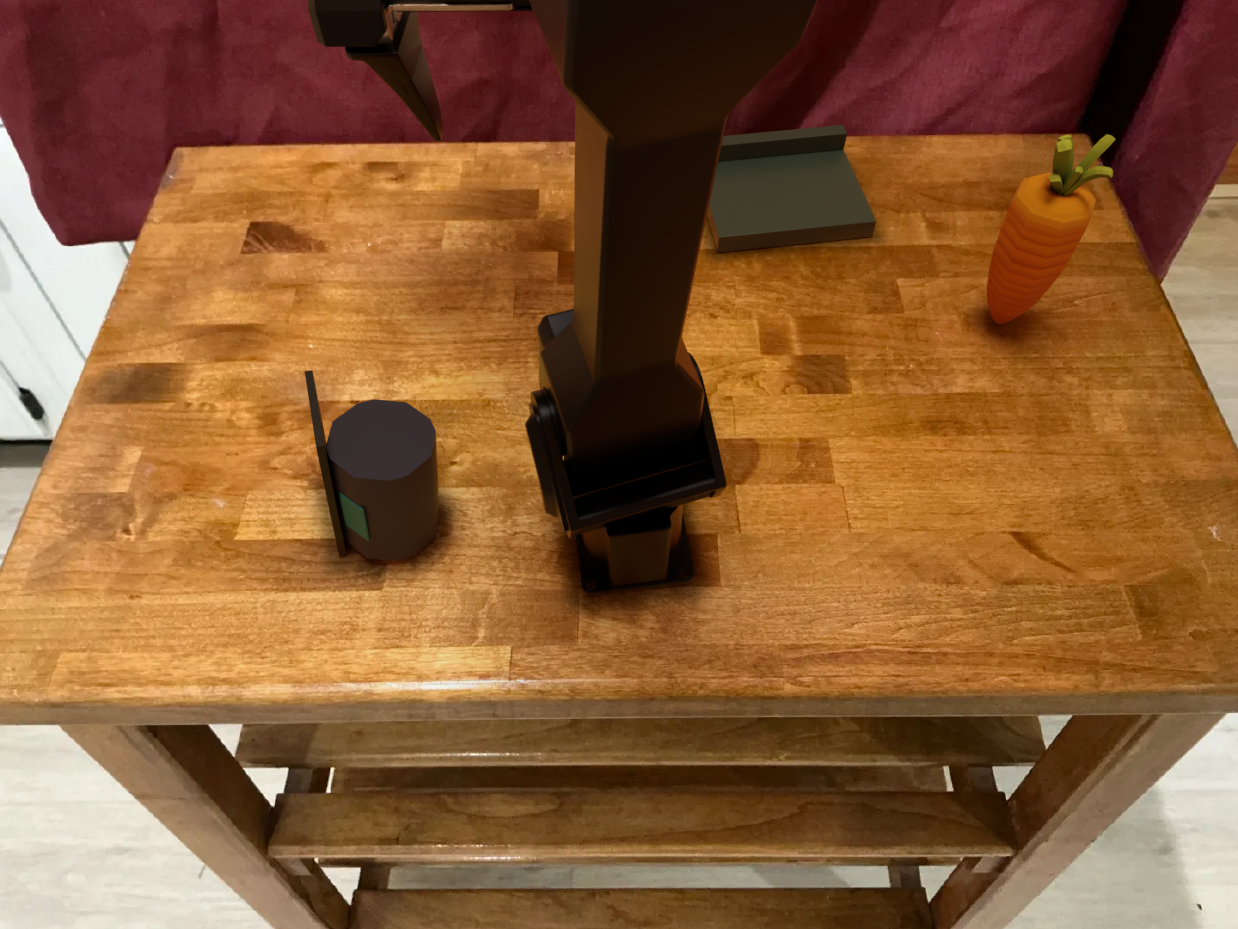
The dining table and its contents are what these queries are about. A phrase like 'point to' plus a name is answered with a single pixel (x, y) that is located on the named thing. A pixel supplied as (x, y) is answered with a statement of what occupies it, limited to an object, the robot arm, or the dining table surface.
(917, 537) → the dining table surface
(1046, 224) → the carrot
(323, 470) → the speaker
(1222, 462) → the dining table surface
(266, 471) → the dining table surface
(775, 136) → the dark grey square base
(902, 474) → the dining table surface
